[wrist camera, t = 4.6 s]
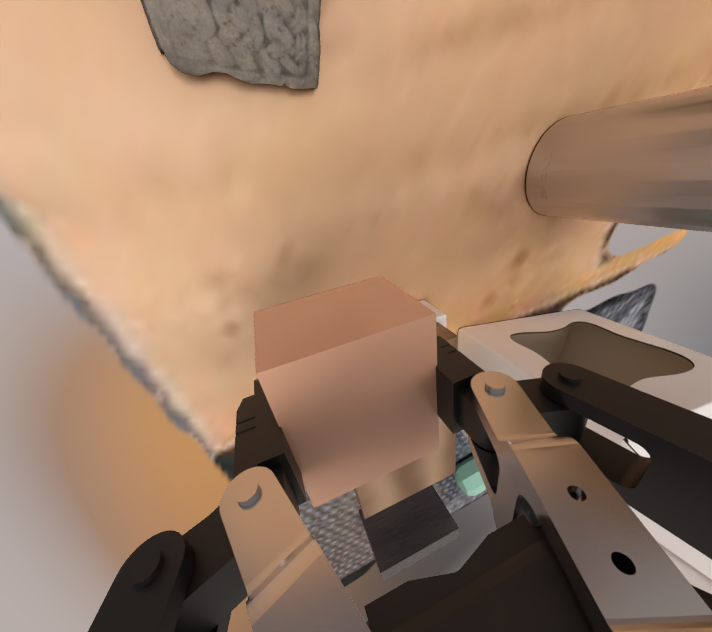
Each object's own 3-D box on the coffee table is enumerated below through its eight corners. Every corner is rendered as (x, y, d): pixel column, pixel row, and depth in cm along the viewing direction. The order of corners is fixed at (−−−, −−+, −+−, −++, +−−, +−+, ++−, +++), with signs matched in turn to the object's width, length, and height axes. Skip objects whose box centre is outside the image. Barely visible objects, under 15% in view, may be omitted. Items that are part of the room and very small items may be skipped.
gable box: (439, 410, 39) (743, 761, 15) (456, 327, 33) (975, 675, 10) (550, 380, 46) (874, 585, 22) (579, 307, 41) (1050, 479, 17)
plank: (437, 321, 26) (457, 336, 24) (440, 452, 36) (455, 472, 33) (318, 364, 24) (327, 385, 21) (355, 493, 33) (364, 519, 31)
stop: (426, 476, 45) (459, 528, 38) (427, 485, 46) (458, 537, 39) (358, 510, 42) (380, 573, 35) (361, 518, 43) (382, 581, 36)
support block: (380, 275, 11) (436, 313, 8) (394, 387, 14) (439, 449, 11) (253, 311, 10) (255, 374, 7) (297, 425, 13) (314, 507, 9)
